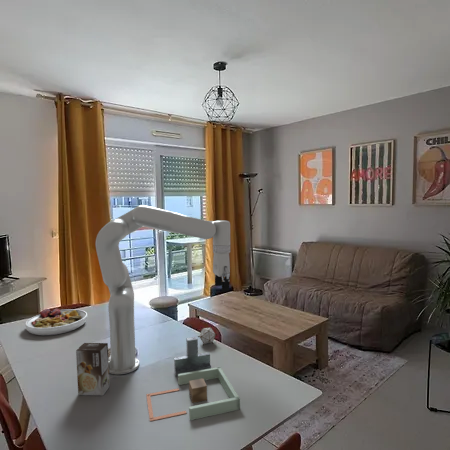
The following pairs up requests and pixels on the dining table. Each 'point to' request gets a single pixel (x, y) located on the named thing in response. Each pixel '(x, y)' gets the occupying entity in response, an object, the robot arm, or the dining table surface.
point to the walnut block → (197, 390)
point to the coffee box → (92, 368)
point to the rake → (191, 359)
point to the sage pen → (216, 406)
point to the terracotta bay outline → (152, 410)
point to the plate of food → (56, 321)
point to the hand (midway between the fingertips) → (221, 288)
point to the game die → (207, 335)
